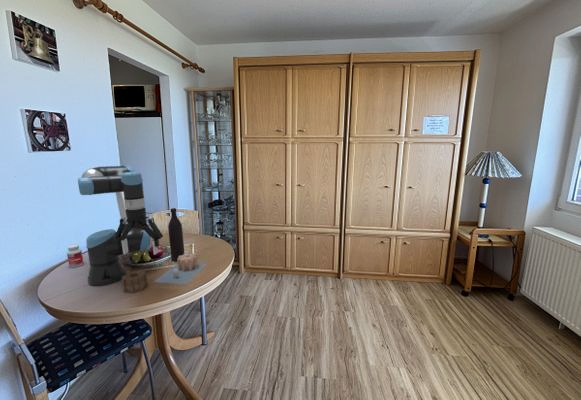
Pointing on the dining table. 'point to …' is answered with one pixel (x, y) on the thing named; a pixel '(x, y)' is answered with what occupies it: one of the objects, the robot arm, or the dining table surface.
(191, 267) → the gear
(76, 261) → the pill bottle
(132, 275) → the gear
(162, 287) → the dining table surface
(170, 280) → the gear board
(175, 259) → the wine bottle
